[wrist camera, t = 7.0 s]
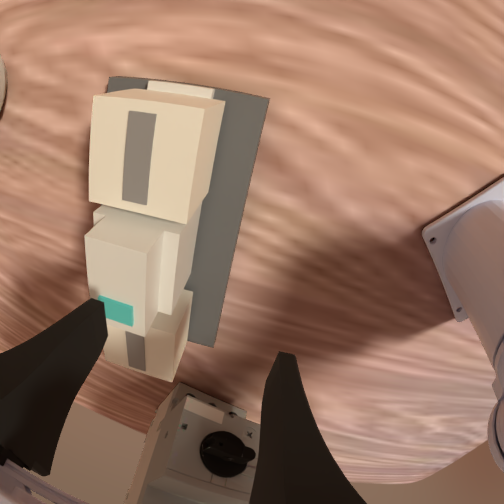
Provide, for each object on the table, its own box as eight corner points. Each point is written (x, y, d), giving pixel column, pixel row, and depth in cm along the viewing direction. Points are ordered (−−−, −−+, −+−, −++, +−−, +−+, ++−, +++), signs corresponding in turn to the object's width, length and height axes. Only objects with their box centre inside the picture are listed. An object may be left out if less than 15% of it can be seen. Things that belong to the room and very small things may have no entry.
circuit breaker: (281, 384, 27) (265, 545, 14) (212, 434, 34) (187, 544, 21) (206, 350, 26) (157, 521, 13) (155, 409, 33) (117, 522, 20)
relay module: (129, 183, 17) (68, 233, 12) (202, 200, 17) (162, 261, 12) (126, 255, 20) (79, 316, 15) (190, 273, 20) (158, 344, 15)
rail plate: (117, 76, 16) (58, 83, 11) (269, 98, 16) (259, 107, 11) (112, 308, 25) (82, 356, 20) (215, 338, 25) (200, 395, 20)
